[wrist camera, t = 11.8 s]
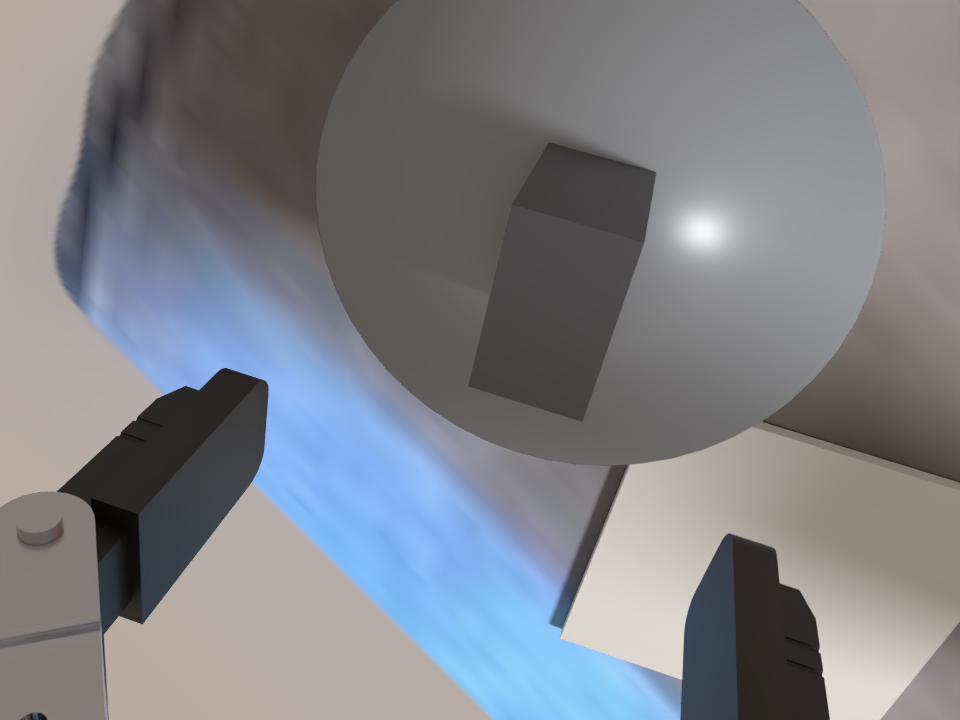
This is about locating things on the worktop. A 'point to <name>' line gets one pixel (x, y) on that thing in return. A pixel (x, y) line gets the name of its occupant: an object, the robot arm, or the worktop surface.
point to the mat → (783, 557)
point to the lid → (601, 215)
